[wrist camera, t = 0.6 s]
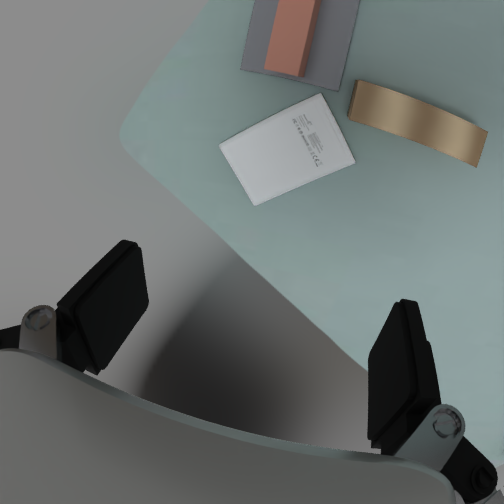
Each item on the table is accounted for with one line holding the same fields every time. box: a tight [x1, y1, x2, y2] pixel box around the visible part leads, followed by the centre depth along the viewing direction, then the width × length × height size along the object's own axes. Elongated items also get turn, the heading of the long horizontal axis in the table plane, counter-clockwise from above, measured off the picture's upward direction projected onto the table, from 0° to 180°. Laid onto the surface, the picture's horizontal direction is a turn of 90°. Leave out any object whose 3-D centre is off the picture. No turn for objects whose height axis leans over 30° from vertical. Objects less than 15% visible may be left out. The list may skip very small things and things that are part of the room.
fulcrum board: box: [240, 0, 360, 92], centre depth 22 cm, size 10×12×7 cm
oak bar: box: [347, 80, 488, 168], centre depth 25 cm, size 14×4×4 cm, turn 81°
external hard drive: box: [219, 93, 356, 206], centre depth 32 cm, size 2×8×12 cm
